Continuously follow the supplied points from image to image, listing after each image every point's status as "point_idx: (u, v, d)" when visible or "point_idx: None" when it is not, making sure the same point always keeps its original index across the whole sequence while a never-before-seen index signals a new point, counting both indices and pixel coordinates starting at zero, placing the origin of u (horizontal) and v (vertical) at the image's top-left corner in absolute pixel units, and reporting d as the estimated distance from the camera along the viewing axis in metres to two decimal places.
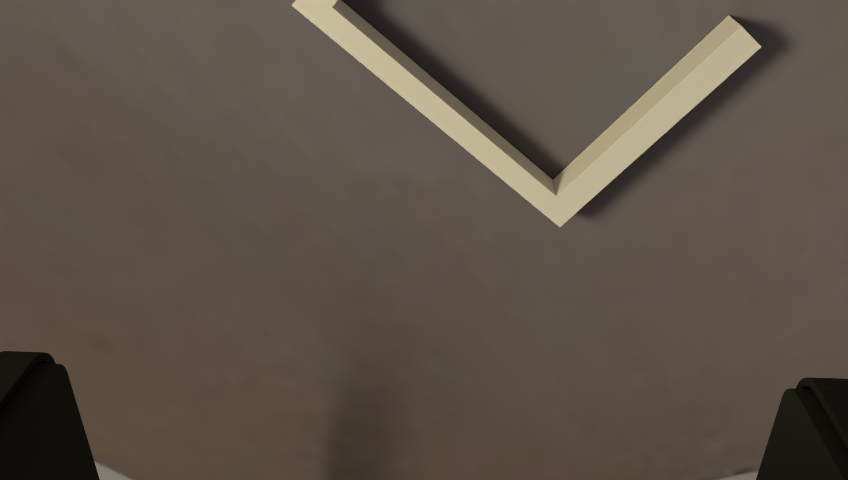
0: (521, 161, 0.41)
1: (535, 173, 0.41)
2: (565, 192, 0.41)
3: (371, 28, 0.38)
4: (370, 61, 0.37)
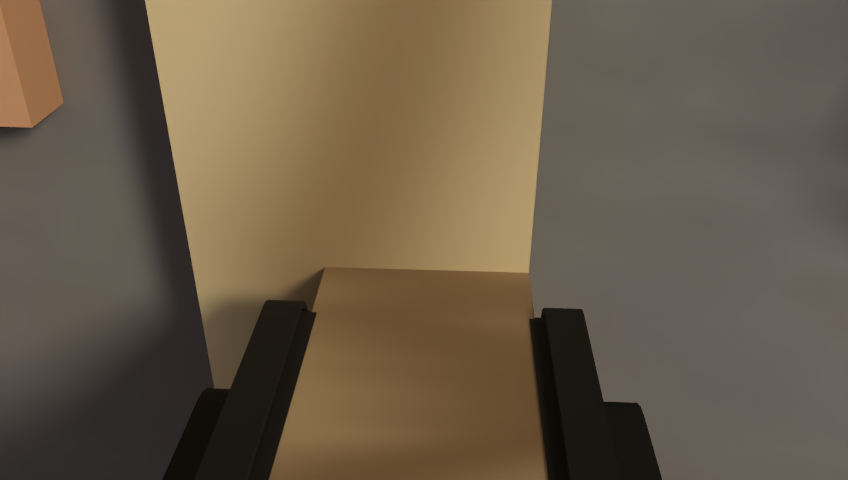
0: None
1: None
2: None
3: None
4: None
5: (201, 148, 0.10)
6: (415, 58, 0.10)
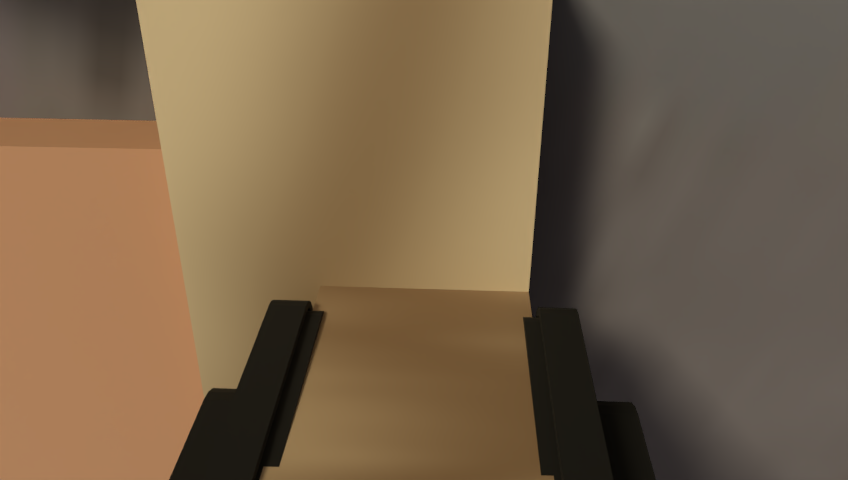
0: None
1: None
2: None
3: None
4: None
5: (194, 164, 0.10)
6: (412, 72, 0.09)
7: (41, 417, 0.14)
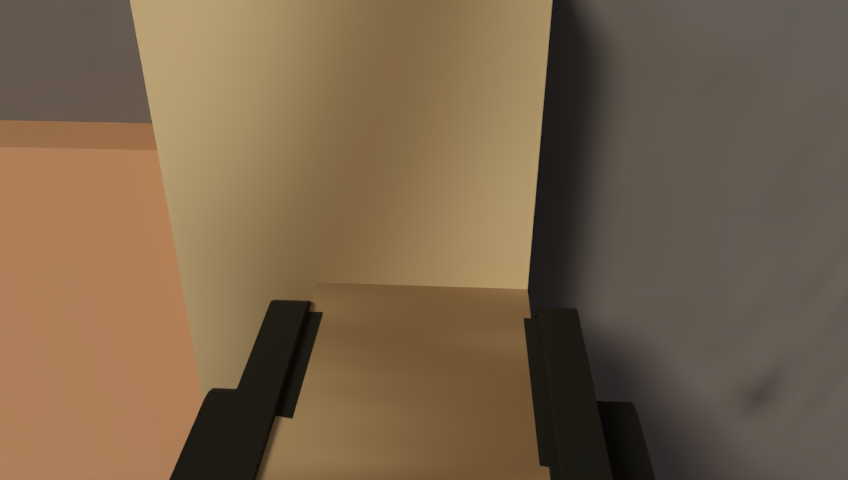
0: None
1: None
2: None
3: None
4: None
5: (190, 160, 0.10)
6: (410, 68, 0.09)
7: (39, 418, 0.14)
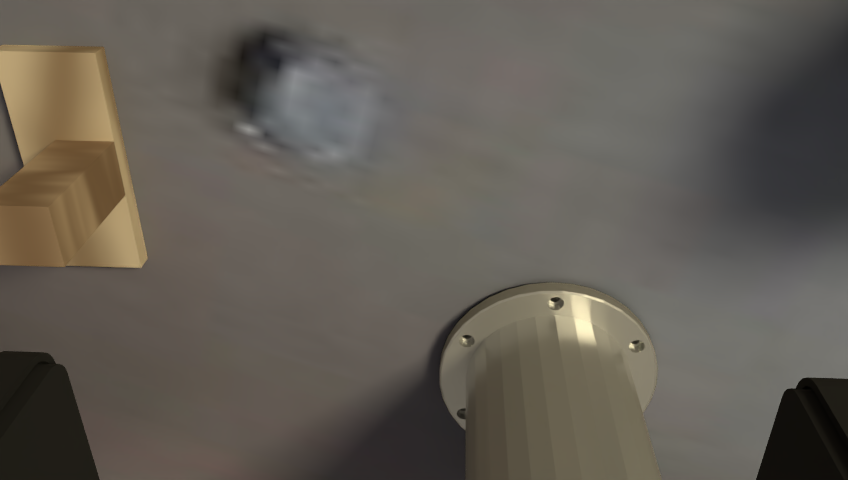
0: None
1: None
2: None
3: None
4: None
5: (14, 104, 0.38)
6: (67, 79, 0.37)
7: None
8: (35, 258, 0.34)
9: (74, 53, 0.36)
